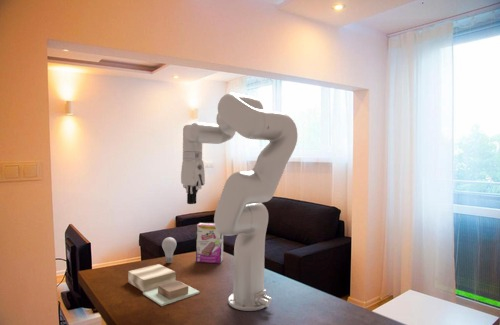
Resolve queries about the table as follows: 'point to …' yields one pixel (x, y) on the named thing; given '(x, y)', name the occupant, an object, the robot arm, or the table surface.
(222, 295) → the table surface
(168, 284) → the walnut block
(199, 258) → the candy bar box
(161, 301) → the sage mat
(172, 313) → the table surface
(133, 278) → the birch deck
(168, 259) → the lightbulb
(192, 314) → the table surface
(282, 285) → the table surface
